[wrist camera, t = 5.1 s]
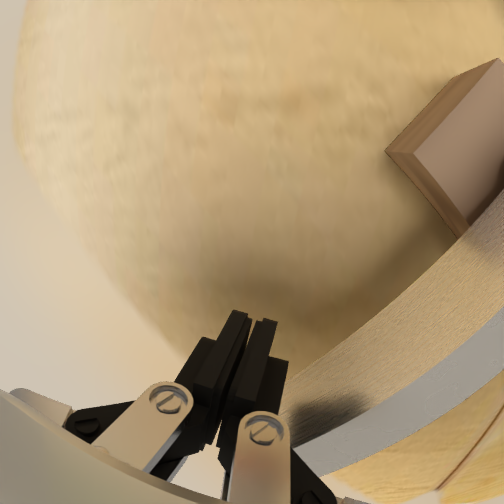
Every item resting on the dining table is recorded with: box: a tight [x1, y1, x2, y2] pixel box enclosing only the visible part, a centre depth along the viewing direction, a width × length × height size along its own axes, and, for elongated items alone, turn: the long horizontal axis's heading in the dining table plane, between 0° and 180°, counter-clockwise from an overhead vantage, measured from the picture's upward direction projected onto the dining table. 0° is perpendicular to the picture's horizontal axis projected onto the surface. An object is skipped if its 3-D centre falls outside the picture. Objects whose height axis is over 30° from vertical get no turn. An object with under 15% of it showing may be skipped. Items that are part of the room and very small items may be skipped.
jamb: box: [384, 58, 504, 239], centre depth 10 cm, size 8×6×5 cm
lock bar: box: [278, 189, 504, 477], centre depth 8 cm, size 15×3×4 cm, turn 139°
